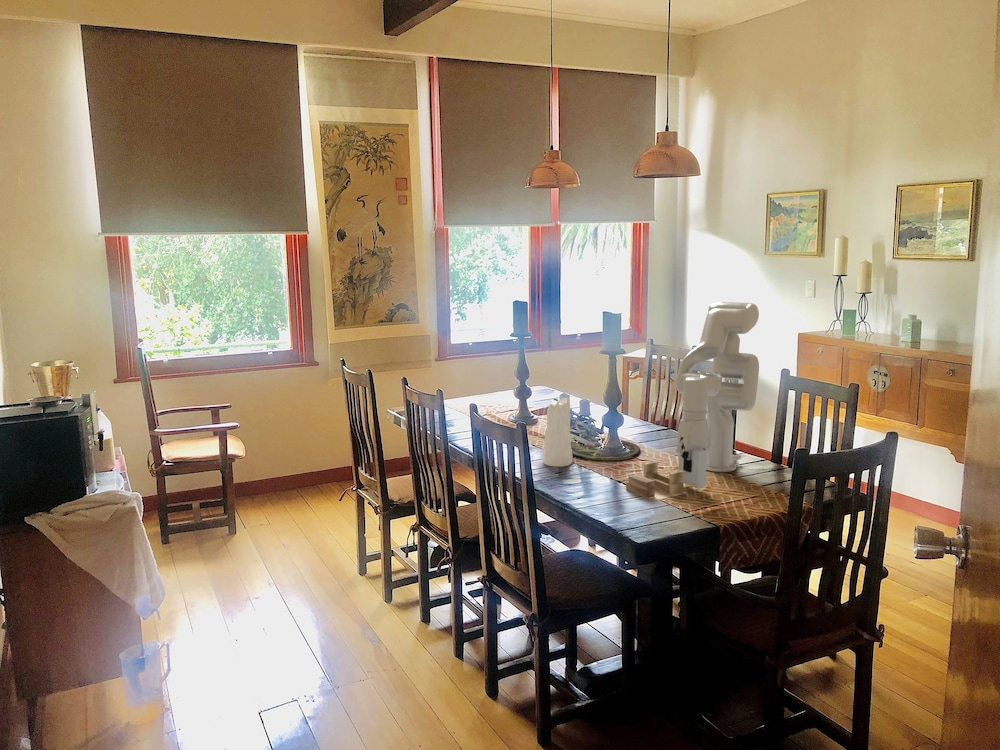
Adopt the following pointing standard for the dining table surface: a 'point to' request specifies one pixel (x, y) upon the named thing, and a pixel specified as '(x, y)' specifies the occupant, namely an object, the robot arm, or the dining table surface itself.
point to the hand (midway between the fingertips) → (692, 469)
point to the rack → (663, 482)
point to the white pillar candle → (558, 435)
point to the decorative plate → (594, 455)
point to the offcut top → (641, 482)
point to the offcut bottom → (640, 491)
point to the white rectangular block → (695, 468)
